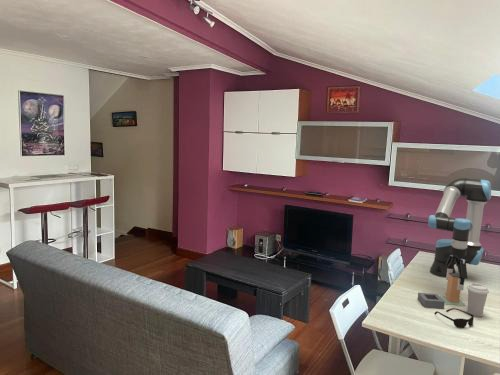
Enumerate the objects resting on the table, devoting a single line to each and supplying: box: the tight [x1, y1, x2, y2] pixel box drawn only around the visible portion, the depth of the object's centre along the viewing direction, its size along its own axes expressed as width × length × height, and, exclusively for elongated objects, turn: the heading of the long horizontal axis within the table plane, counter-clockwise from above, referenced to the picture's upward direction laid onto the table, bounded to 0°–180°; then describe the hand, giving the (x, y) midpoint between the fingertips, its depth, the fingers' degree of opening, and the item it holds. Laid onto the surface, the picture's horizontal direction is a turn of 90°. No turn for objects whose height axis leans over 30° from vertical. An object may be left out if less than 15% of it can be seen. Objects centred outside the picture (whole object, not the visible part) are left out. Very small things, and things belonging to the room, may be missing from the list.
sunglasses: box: [434, 307, 475, 329], centre depth 185 cm, size 14×16×5 cm
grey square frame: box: [417, 292, 446, 310], centre depth 201 cm, size 10×10×4 cm
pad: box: [439, 295, 467, 307], centre depth 206 cm, size 10×10×1 cm
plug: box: [445, 272, 462, 303], centre depth 205 cm, size 5×5×15 cm
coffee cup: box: [466, 282, 490, 318], centre depth 191 cm, size 10×10×15 cm
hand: (454, 284), depth 205 cm, fingers open, 13 cm apart
